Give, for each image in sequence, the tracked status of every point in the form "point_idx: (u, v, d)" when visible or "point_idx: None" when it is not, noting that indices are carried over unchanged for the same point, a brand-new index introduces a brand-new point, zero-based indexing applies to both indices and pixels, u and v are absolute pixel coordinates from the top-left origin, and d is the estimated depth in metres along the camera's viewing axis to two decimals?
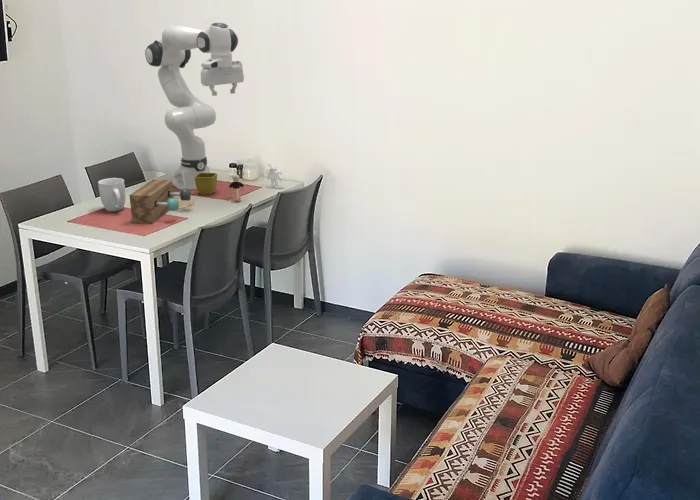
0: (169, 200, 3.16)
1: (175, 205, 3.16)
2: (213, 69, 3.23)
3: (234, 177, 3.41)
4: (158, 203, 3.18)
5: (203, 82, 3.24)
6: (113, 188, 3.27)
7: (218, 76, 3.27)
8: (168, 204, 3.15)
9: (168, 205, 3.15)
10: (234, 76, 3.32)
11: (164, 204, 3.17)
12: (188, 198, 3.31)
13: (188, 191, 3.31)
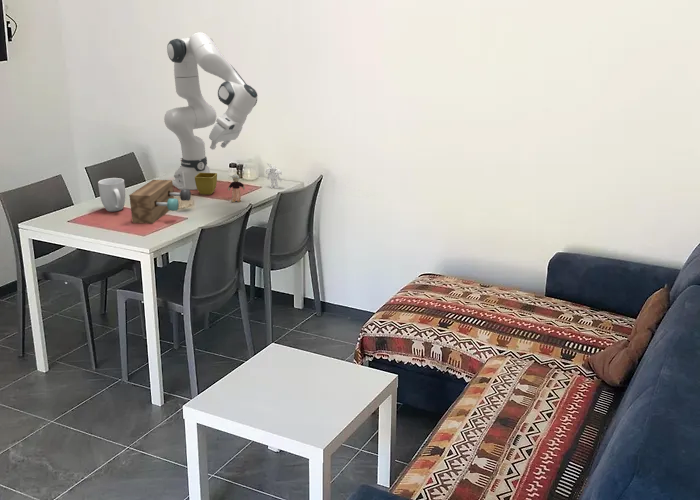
0: (169, 200, 3.16)
1: (175, 205, 3.16)
2: (228, 130, 3.15)
3: (234, 177, 3.41)
4: (158, 203, 3.18)
5: (213, 138, 3.13)
6: (113, 188, 3.27)
7: (225, 134, 3.19)
8: (168, 204, 3.15)
9: (168, 205, 3.15)
10: (234, 135, 3.26)
11: (164, 204, 3.17)
12: (188, 198, 3.31)
13: (188, 191, 3.31)
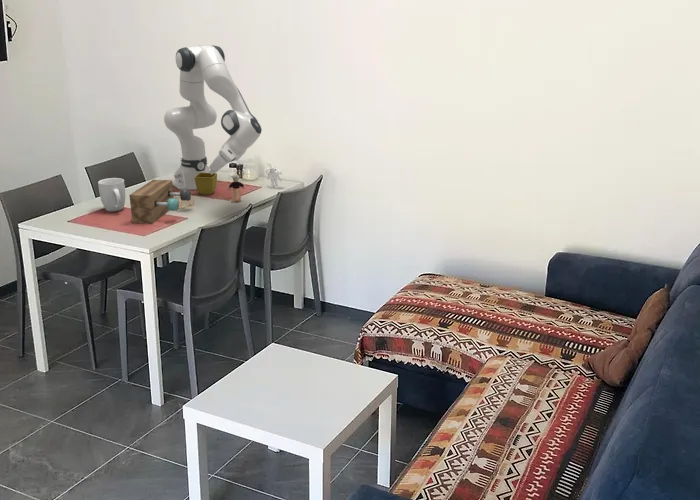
0: (169, 200, 3.16)
1: (175, 205, 3.16)
2: None
3: (234, 177, 3.41)
4: (158, 203, 3.18)
5: (214, 168, 3.15)
6: (113, 188, 3.27)
7: None
8: (168, 204, 3.15)
9: (168, 205, 3.15)
10: None
11: (164, 204, 3.17)
12: (188, 198, 3.31)
13: (188, 191, 3.31)
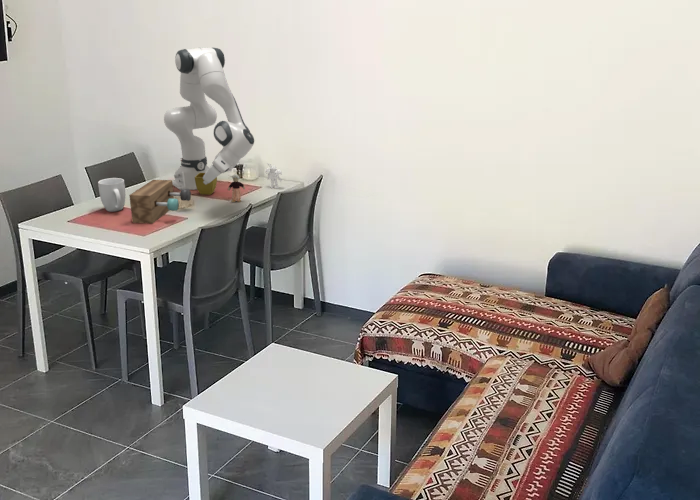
0: (169, 200, 3.16)
1: (175, 205, 3.16)
2: (222, 172, 3.19)
3: (234, 177, 3.41)
4: (158, 203, 3.18)
5: (207, 179, 3.17)
6: (113, 188, 3.27)
7: None
8: (168, 204, 3.15)
9: (168, 205, 3.15)
10: None
11: (164, 204, 3.17)
12: (188, 198, 3.31)
13: (188, 191, 3.31)
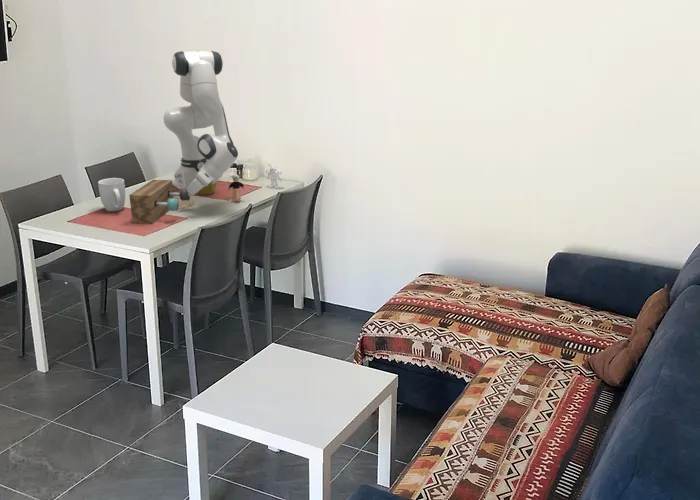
0: (169, 200, 3.16)
1: (175, 205, 3.16)
2: None
3: (234, 177, 3.41)
4: (158, 203, 3.18)
5: (191, 192, 3.20)
6: (113, 188, 3.27)
7: None
8: (168, 204, 3.15)
9: (168, 205, 3.15)
10: None
11: (164, 204, 3.17)
12: (187, 198, 3.31)
13: None
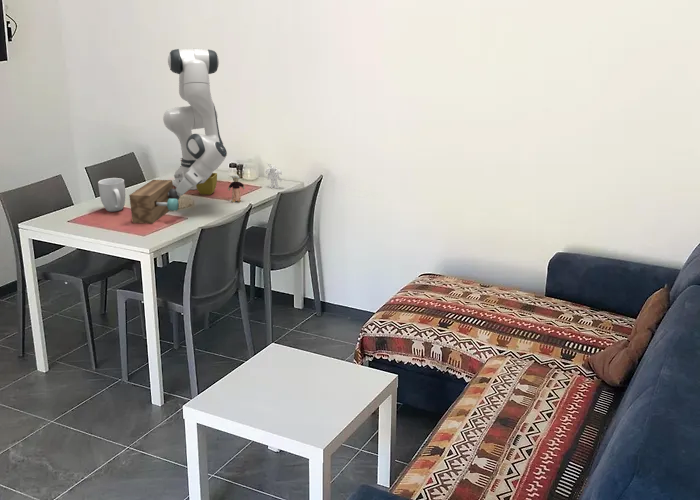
0: (169, 200, 3.16)
1: (175, 205, 3.16)
2: (195, 184, 3.23)
3: (234, 177, 3.41)
4: (158, 203, 3.18)
5: (180, 191, 3.21)
6: (113, 188, 3.27)
7: None
8: (168, 204, 3.15)
9: (168, 205, 3.15)
10: None
11: (164, 204, 3.17)
12: (177, 198, 3.32)
13: None
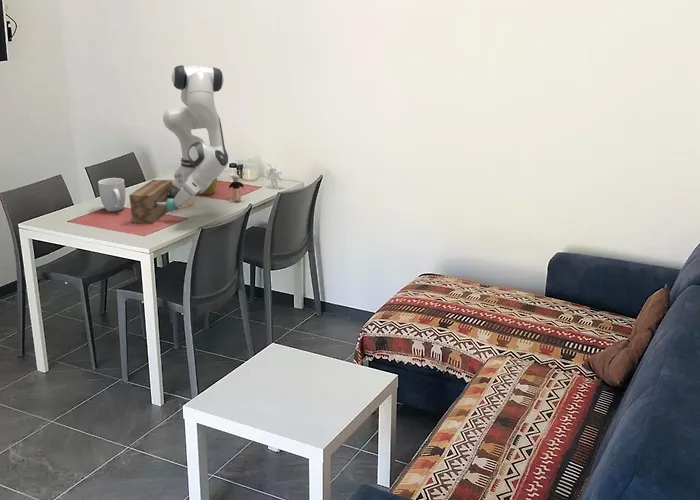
0: (168, 200, 3.16)
1: (174, 205, 3.16)
2: None
3: (234, 177, 3.41)
4: (157, 203, 3.18)
5: (178, 202, 3.06)
6: (113, 188, 3.27)
7: None
8: (167, 204, 3.15)
9: (167, 205, 3.15)
10: None
11: (163, 204, 3.17)
12: None
13: (177, 191, 3.32)
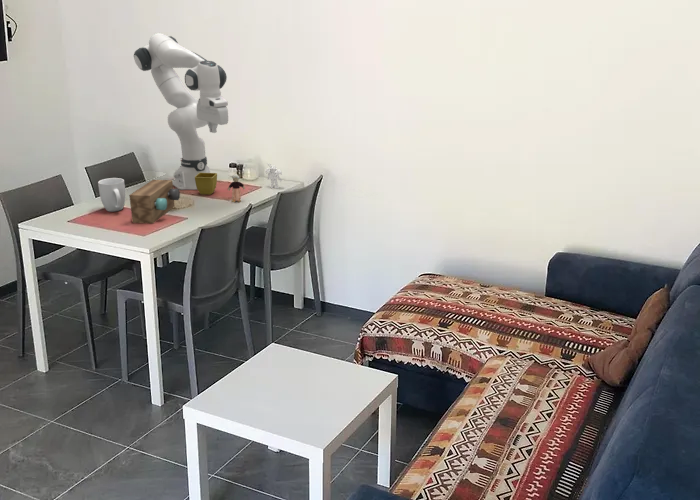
0: (158, 200, 3.17)
1: (163, 205, 3.17)
2: None
3: (234, 177, 3.41)
4: None
5: (225, 121, 3.19)
6: (113, 188, 3.27)
7: None
8: (156, 204, 3.16)
9: (156, 205, 3.16)
10: None
11: None
12: (177, 198, 3.32)
13: (177, 191, 3.32)
